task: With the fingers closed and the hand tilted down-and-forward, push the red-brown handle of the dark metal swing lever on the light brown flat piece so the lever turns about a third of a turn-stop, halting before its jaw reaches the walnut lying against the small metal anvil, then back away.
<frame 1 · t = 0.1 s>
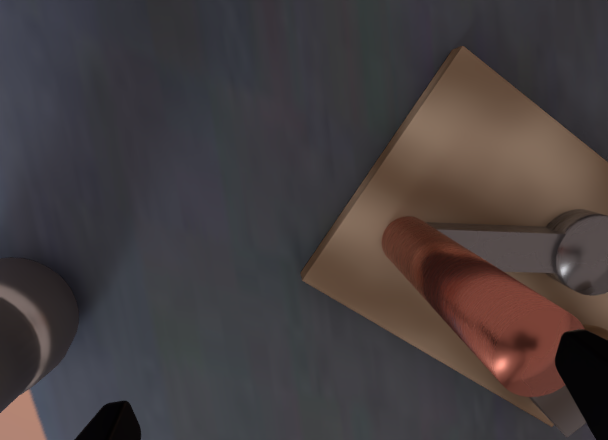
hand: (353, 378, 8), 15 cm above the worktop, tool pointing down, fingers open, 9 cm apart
plastic bottle: (35, 301, 23), on the worktop
light brown flat piece: (501, 254, 25), on the worktop
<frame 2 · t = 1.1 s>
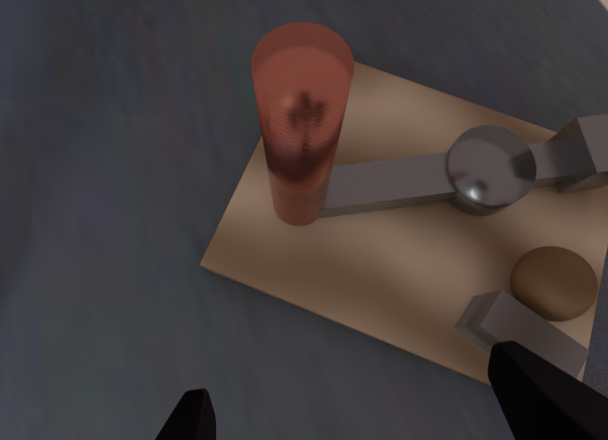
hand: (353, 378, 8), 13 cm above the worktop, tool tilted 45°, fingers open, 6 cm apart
walnut: (531, 287, 21), point 1 cm above the worktop, touching light brown flat piece
light brown flat piece: (416, 214, 24), on the worktop
lever: (481, 133, 17), point 7 cm above the worktop, hinge at 0.0°
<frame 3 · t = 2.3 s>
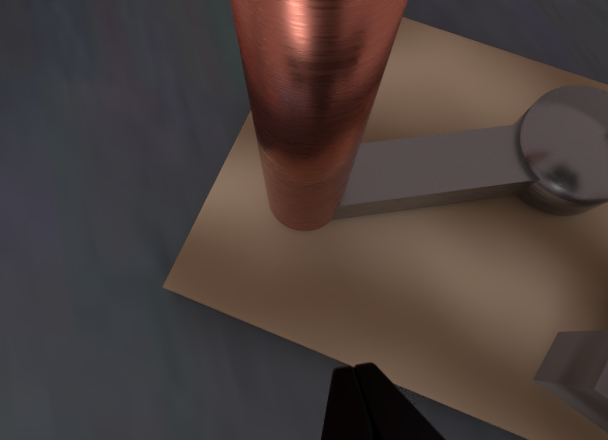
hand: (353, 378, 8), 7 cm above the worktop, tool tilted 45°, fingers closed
light brown flat piece: (467, 213, 17), on the worktop
lever: (602, 81, 10), point 7 cm above the worktop, hinge at 0.0°
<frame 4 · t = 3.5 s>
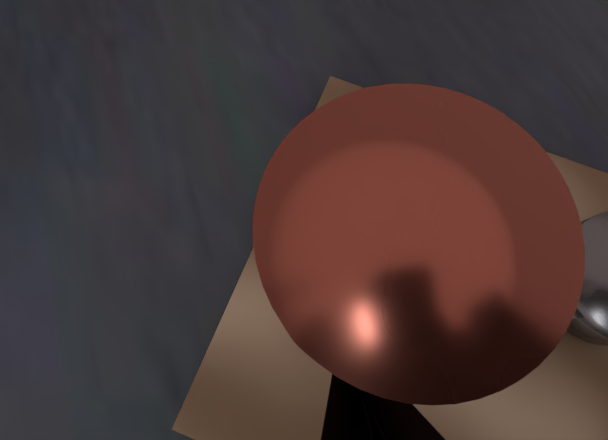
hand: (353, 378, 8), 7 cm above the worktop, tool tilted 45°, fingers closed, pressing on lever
light brown flat piece: (498, 329, 16), on the worktop
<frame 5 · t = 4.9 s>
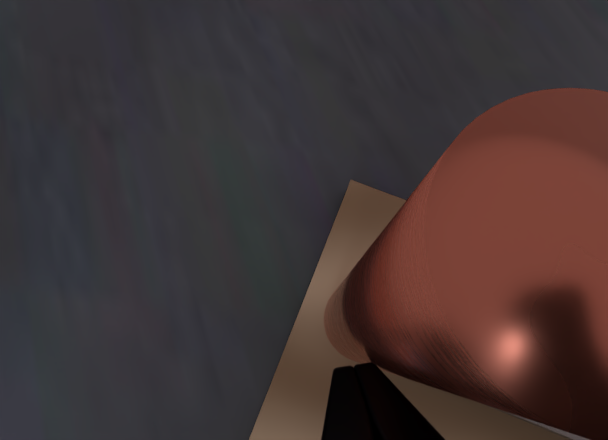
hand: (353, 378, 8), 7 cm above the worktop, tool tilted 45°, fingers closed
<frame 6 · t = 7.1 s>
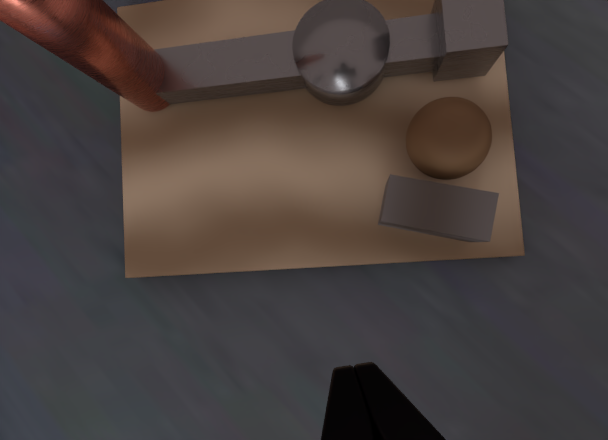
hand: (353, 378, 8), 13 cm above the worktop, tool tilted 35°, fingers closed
walnut: (439, 148, 20), point 1 cm above the worktop, touching light brown flat piece
light brown flat piece: (306, 127, 22), on the worktop
lever: (271, 1, 15), point 7 cm above the worktop, hinge at 29.8°
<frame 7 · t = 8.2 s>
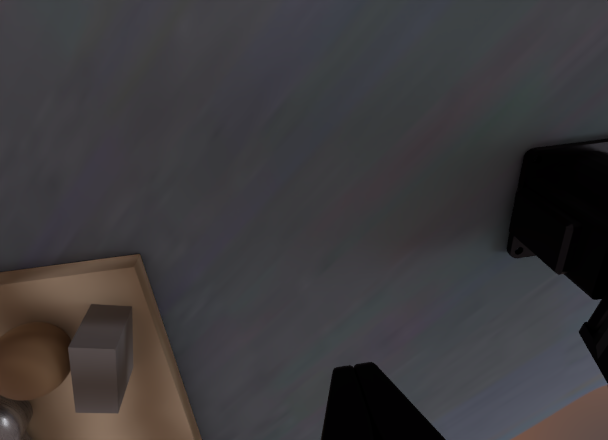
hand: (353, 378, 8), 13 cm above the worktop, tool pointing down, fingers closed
walnut: (48, 333, 21), point 1 cm above the worktop, touching light brown flat piece
light brown flat piece: (62, 402, 25), on the worktop
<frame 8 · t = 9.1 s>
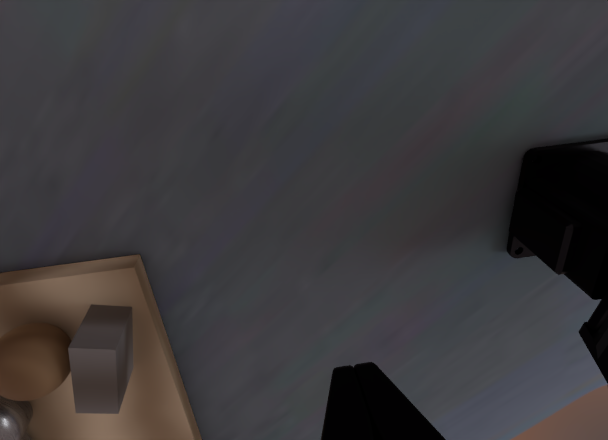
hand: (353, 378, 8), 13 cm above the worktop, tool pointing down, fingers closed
walnut: (48, 334, 21), point 1 cm above the worktop, touching light brown flat piece
light brown flat piece: (63, 403, 25), on the worktop
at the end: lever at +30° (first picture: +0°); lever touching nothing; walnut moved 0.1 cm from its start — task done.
